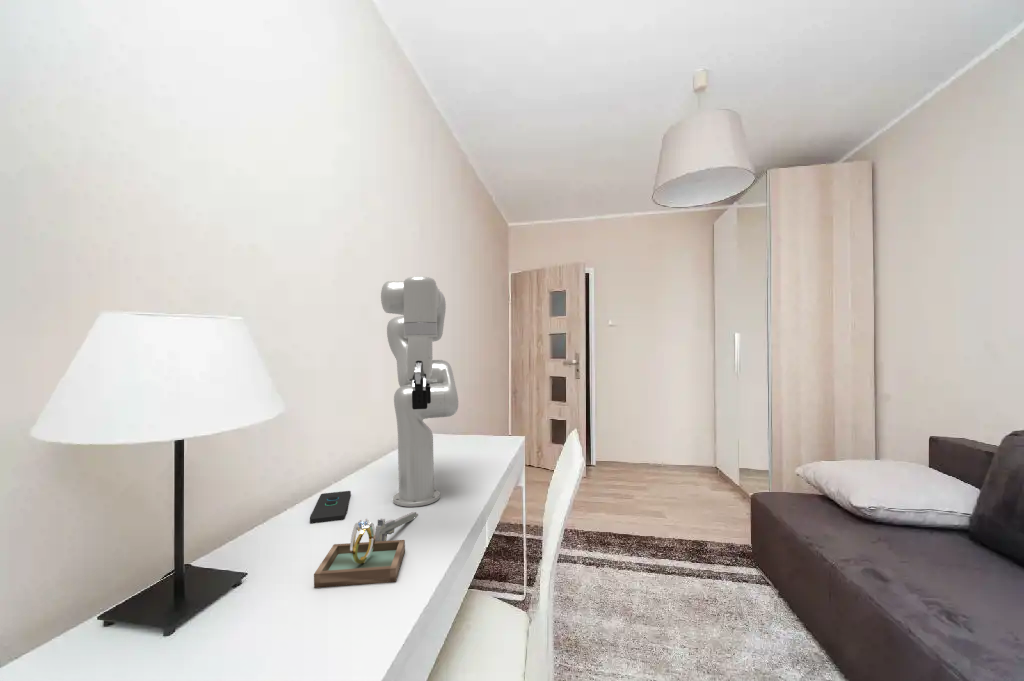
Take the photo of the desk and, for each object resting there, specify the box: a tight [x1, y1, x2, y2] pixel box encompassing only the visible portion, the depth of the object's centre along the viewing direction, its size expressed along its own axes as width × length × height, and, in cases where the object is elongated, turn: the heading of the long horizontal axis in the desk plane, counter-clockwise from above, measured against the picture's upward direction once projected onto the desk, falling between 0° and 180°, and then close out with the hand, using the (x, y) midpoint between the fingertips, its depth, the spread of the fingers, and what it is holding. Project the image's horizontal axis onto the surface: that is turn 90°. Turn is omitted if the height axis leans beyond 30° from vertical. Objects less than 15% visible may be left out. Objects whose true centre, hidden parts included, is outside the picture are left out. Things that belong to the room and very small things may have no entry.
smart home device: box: [309, 490, 352, 525], centre depth 118 cm, size 8×2×20 cm
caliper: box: [375, 511, 419, 542], centre depth 101 cm, size 21×1×6 cm, turn 170°
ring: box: [350, 518, 376, 564], centre depth 85 cm, size 7×3×8 cm, turn 163°
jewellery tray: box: [313, 539, 406, 589], centre depth 85 cm, size 12×14×2 cm
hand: (422, 406), depth 102 cm, fingers open, 9 cm apart
